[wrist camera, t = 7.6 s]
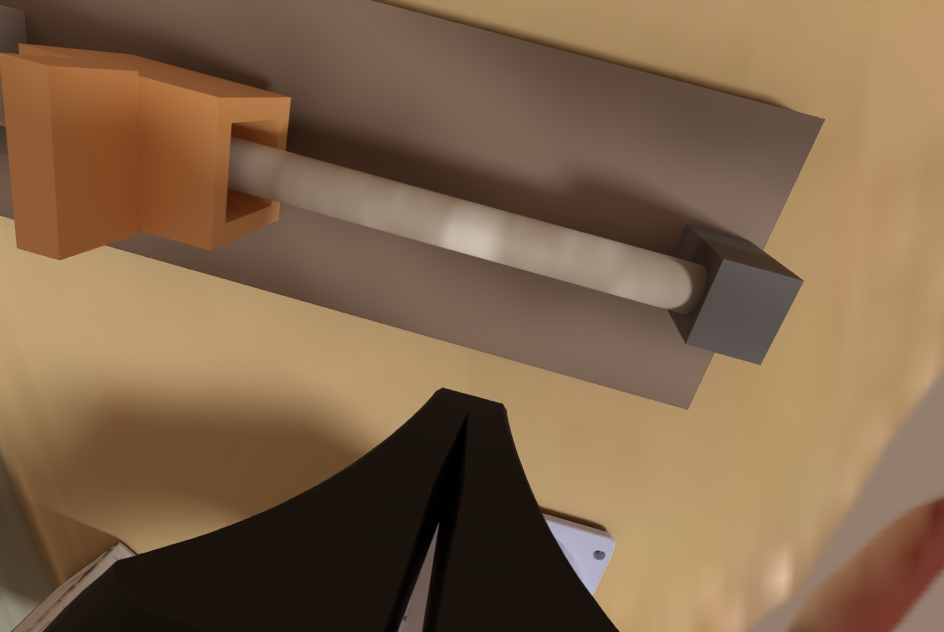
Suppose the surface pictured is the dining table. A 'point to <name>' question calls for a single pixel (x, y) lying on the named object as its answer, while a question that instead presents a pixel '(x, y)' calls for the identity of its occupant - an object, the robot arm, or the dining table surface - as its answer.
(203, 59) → the grey slider rail
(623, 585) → the dining table surface
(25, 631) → the syrup box
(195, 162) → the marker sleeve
